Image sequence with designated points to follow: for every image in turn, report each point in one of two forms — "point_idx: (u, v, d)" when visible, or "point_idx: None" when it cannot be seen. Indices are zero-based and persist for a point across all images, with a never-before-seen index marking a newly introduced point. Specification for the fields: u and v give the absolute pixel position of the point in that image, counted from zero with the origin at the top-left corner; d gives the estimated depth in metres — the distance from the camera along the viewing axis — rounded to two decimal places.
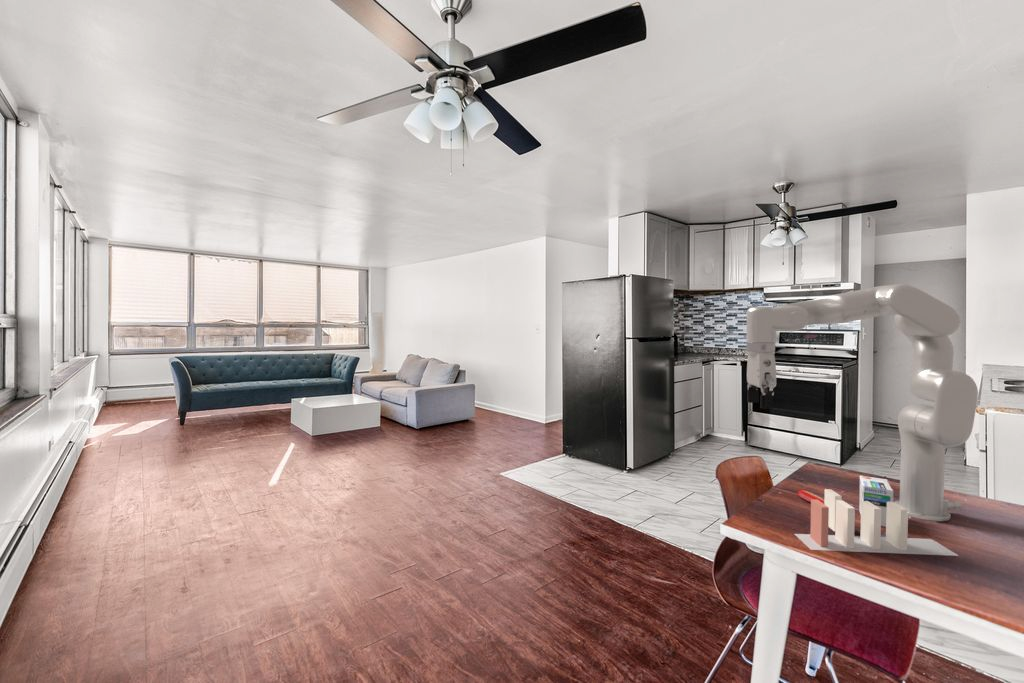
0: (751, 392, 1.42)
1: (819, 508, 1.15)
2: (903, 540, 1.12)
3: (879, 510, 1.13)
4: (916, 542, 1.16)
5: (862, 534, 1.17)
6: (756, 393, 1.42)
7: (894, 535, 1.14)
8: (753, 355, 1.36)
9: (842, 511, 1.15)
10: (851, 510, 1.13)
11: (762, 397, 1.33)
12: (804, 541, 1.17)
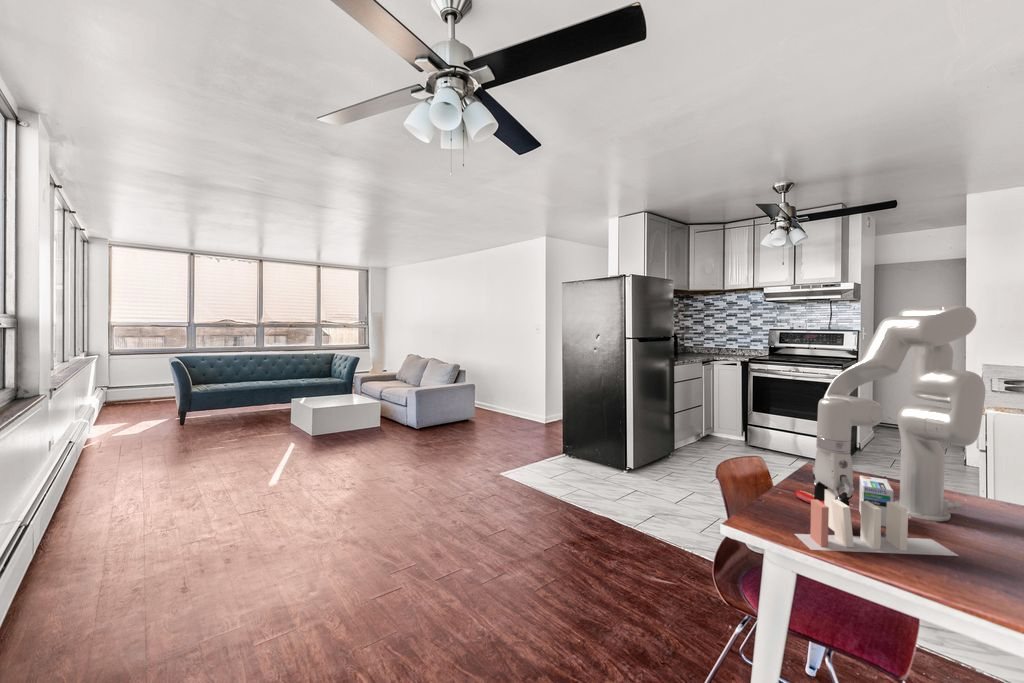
0: (819, 489, 1.29)
1: (819, 508, 1.15)
2: (903, 540, 1.12)
3: (879, 510, 1.13)
4: (916, 542, 1.16)
5: (862, 534, 1.17)
6: (824, 490, 1.29)
7: (894, 535, 1.14)
8: (825, 452, 1.23)
9: (838, 511, 1.16)
10: (846, 509, 1.14)
11: None
12: (804, 541, 1.17)
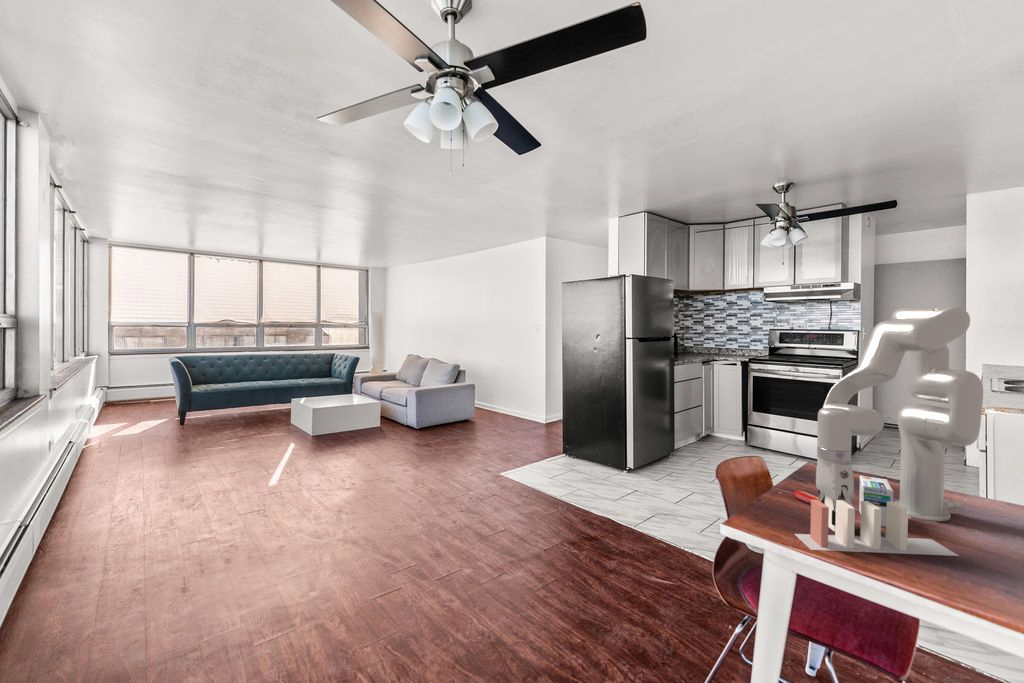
0: None
1: (819, 508, 1.15)
2: (903, 540, 1.12)
3: (879, 510, 1.13)
4: (916, 542, 1.16)
5: (862, 534, 1.17)
6: None
7: (894, 535, 1.14)
8: (826, 463, 1.23)
9: (842, 511, 1.15)
10: (851, 510, 1.13)
11: (834, 513, 1.22)
12: (804, 541, 1.17)
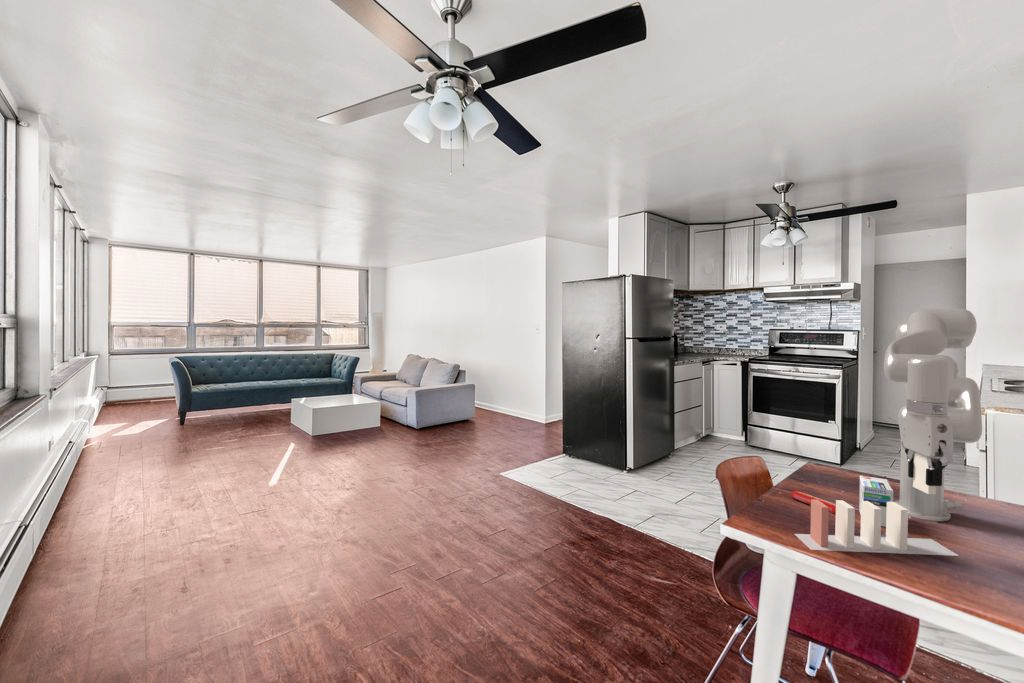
0: None
1: (819, 508, 1.15)
2: (903, 540, 1.12)
3: (879, 510, 1.13)
4: (916, 542, 1.16)
5: (862, 534, 1.17)
6: None
7: (894, 535, 1.14)
8: (919, 417, 1.12)
9: (842, 511, 1.15)
10: (851, 510, 1.13)
11: (929, 472, 1.10)
12: (804, 541, 1.17)
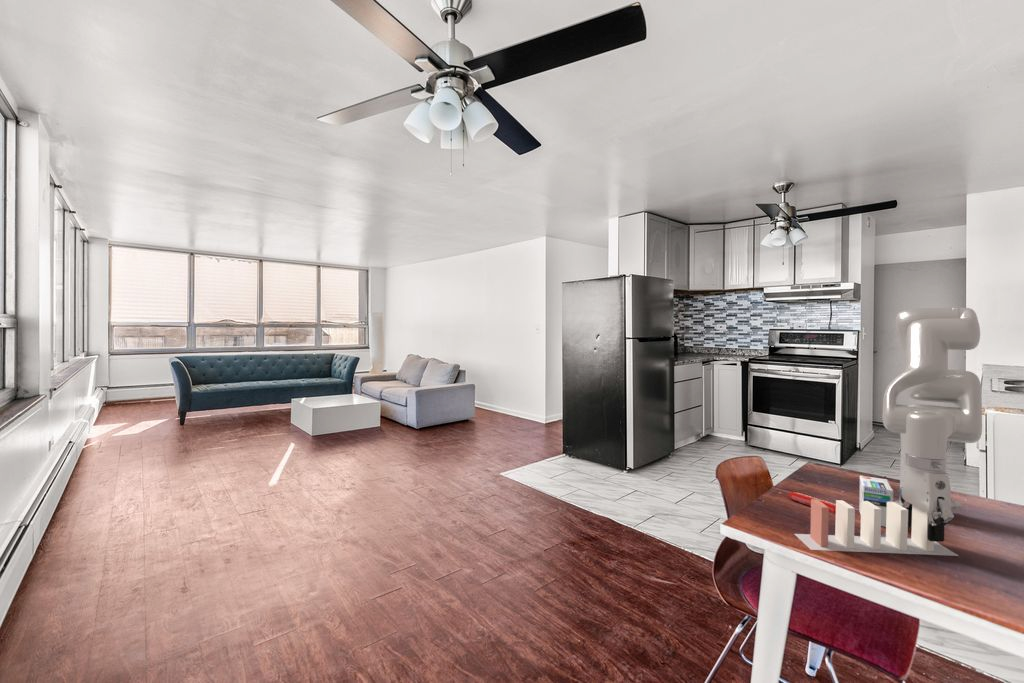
0: (909, 514, 1.17)
1: (819, 508, 1.15)
2: (903, 540, 1.12)
3: (879, 510, 1.13)
4: None
5: (862, 534, 1.17)
6: None
7: (894, 535, 1.14)
8: (918, 472, 1.12)
9: (842, 511, 1.15)
10: (851, 510, 1.13)
11: (931, 527, 1.10)
12: (804, 541, 1.17)
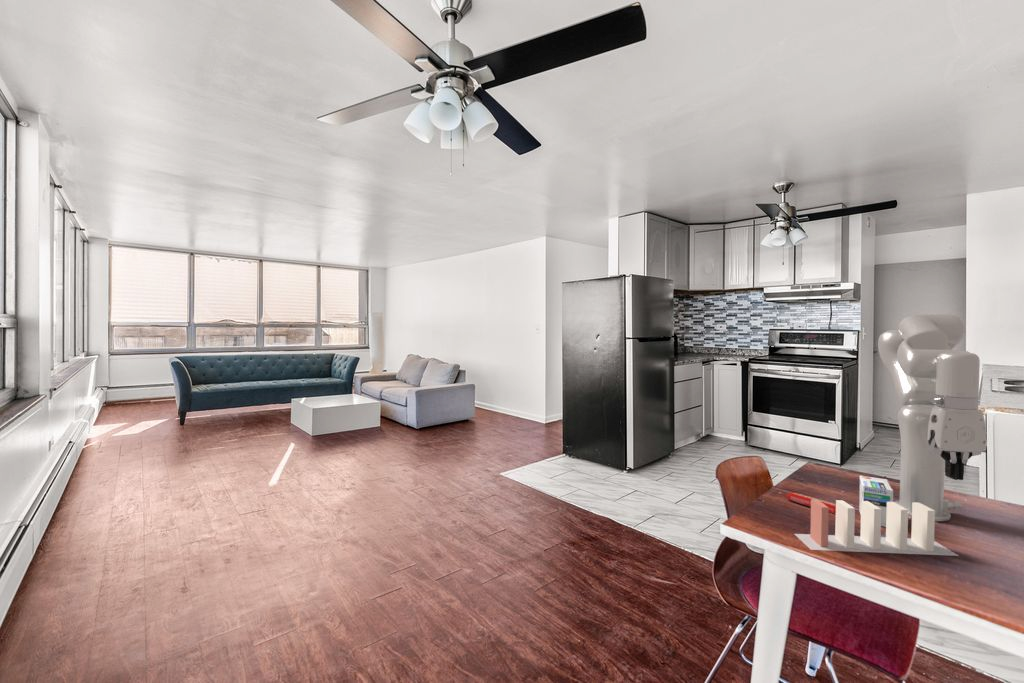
0: None
1: (819, 508, 1.15)
2: (903, 540, 1.12)
3: (879, 510, 1.13)
4: None
5: (862, 534, 1.17)
6: None
7: (894, 535, 1.14)
8: None
9: (842, 511, 1.15)
10: (851, 510, 1.13)
11: None
12: (804, 541, 1.17)
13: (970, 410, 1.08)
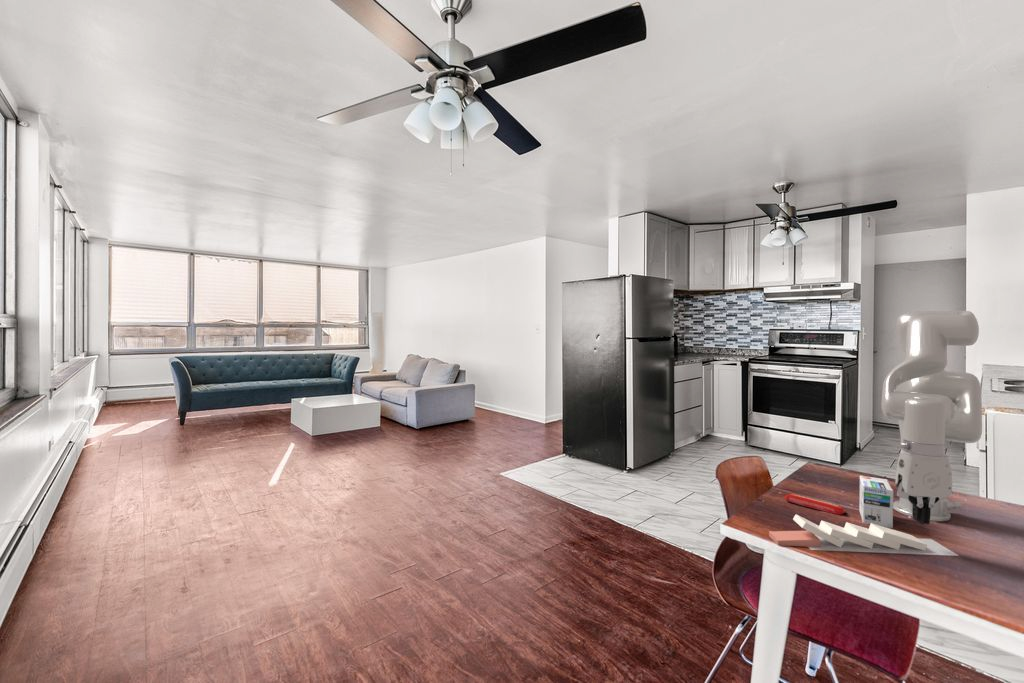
0: None
1: None
2: (889, 543, 1.13)
3: (833, 531, 1.14)
4: None
5: None
6: None
7: None
8: None
9: None
10: (806, 526, 1.15)
11: None
12: None
13: (936, 457, 1.09)
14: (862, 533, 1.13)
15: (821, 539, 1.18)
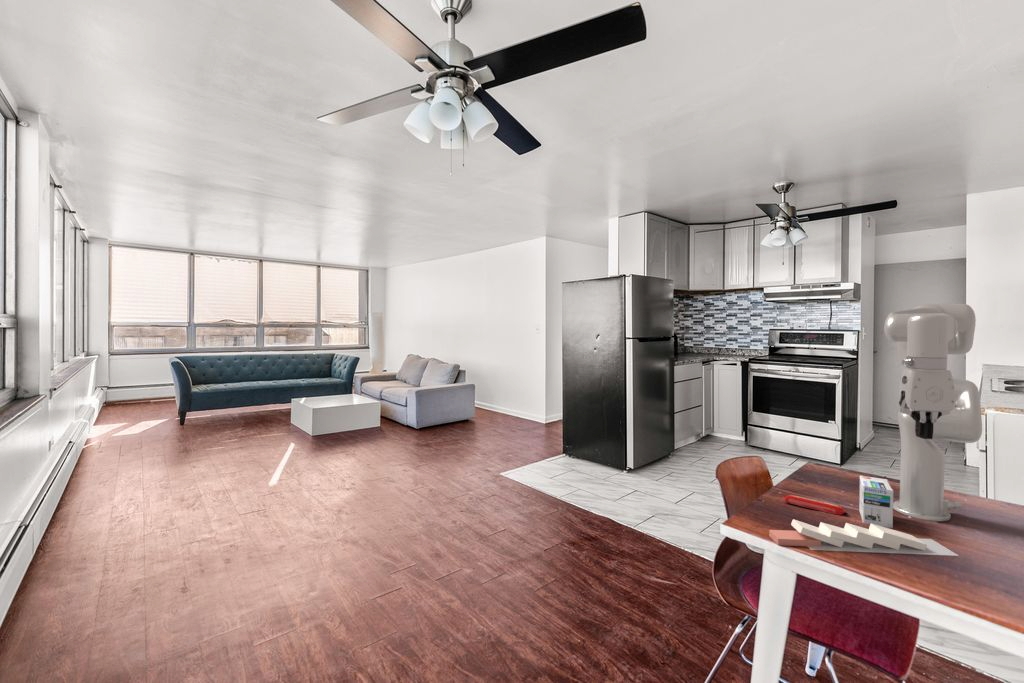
0: None
1: None
2: (889, 544, 1.13)
3: (832, 532, 1.14)
4: None
5: None
6: None
7: None
8: None
9: None
10: (803, 531, 1.15)
11: None
12: None
13: (939, 370, 1.10)
14: (862, 534, 1.13)
15: None
